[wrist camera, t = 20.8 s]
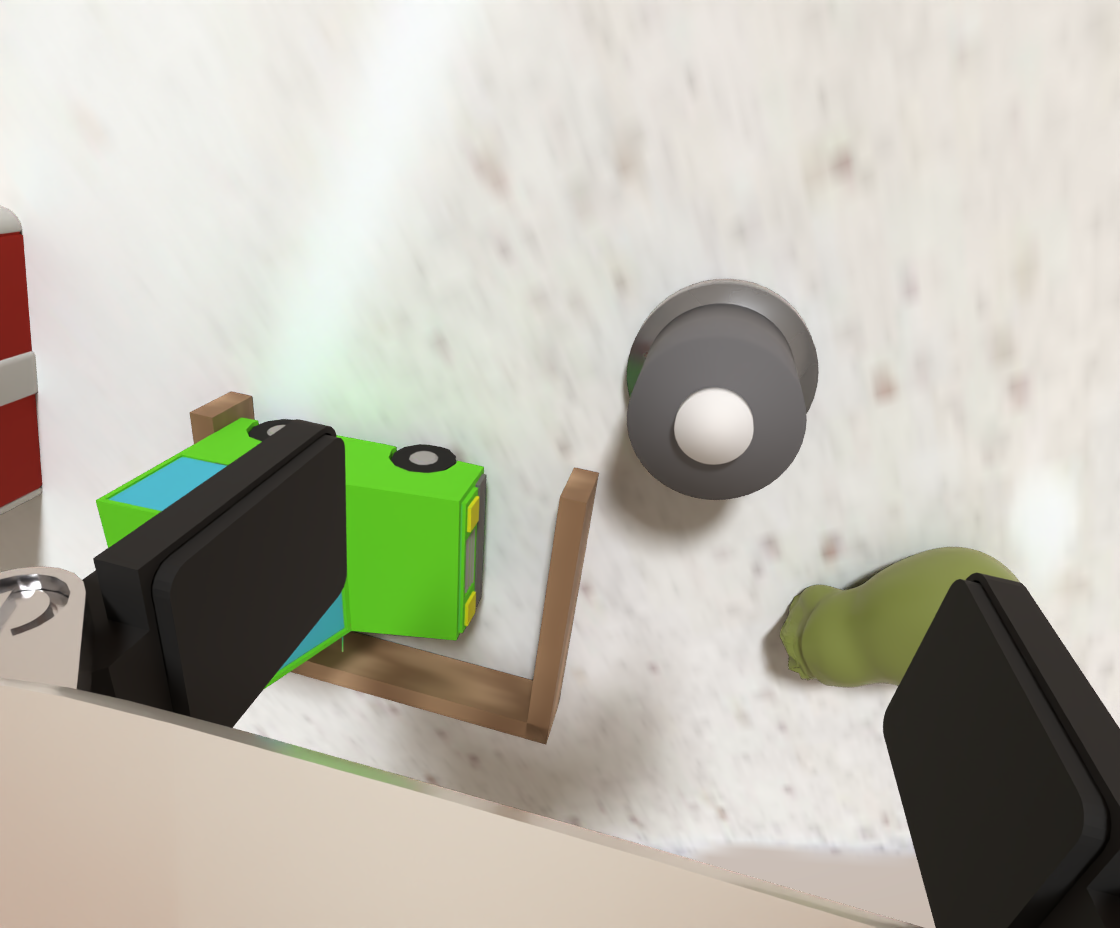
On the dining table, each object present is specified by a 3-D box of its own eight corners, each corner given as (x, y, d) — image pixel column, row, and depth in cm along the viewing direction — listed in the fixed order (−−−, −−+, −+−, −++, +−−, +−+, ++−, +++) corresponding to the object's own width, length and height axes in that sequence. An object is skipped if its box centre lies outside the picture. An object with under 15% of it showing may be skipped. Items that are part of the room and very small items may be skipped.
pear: (1071, 698, 25) (814, 734, 31) (1040, 604, 29) (819, 650, 35) (1011, 587, 24) (753, 646, 29) (988, 505, 28) (766, 570, 34)
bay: (255, 620, 42) (223, 652, 39) (231, 391, 35) (189, 412, 32) (558, 703, 39) (546, 744, 36) (598, 472, 32) (586, 503, 29)
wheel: (632, 427, 29) (611, 486, 24) (659, 290, 27) (642, 325, 22) (771, 457, 28) (778, 525, 24) (815, 319, 26) (833, 363, 21)
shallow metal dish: (616, 433, 31) (613, 441, 30) (647, 263, 27) (644, 268, 26) (785, 469, 30) (787, 479, 29) (841, 297, 26) (844, 303, 25)
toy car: (492, 603, 37) (417, 749, 28) (274, 555, 39) (141, 676, 30) (501, 434, 32) (414, 545, 24) (253, 390, 34) (89, 476, 26)
